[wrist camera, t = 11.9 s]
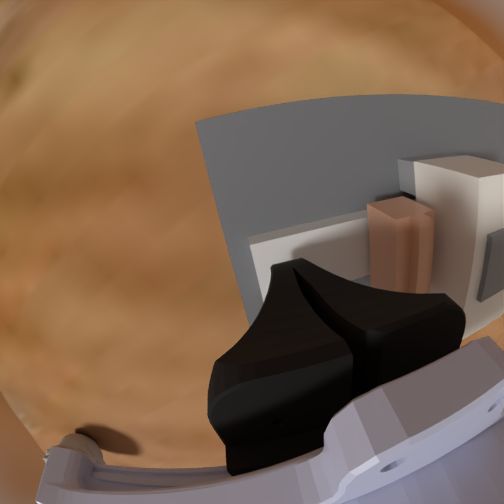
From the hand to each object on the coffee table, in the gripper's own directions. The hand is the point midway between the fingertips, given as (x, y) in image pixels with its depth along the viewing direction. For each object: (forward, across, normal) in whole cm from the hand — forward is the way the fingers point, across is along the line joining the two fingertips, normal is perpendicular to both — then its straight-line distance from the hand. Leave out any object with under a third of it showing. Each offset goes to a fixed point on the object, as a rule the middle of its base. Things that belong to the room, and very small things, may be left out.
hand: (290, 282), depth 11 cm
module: (+2, -9, 0) cm, 9 cm away
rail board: (+3, -8, 0) cm, 8 cm away
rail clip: (+1, -5, 0) cm, 5 cm away
